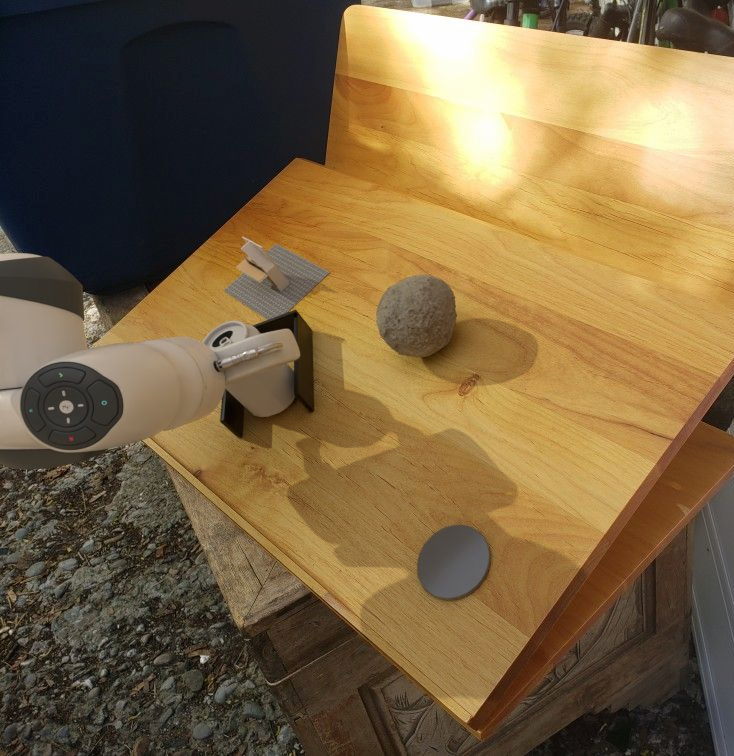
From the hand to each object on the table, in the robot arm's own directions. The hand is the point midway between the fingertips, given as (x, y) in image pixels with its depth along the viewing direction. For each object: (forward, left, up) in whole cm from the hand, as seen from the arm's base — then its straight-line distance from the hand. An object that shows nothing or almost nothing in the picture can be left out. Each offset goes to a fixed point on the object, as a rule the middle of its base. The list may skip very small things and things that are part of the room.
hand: (236, 367), depth 82 cm
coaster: (-13, -33, -8) cm, 36 cm away
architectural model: (+20, +14, -9) cm, 26 cm away
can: (+1, 0, -9) cm, 9 cm away
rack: (+3, +2, -8) cm, 9 cm away
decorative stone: (+13, -18, -9) cm, 24 cm away
